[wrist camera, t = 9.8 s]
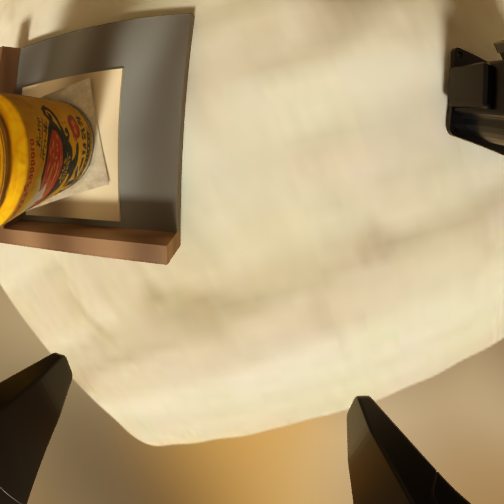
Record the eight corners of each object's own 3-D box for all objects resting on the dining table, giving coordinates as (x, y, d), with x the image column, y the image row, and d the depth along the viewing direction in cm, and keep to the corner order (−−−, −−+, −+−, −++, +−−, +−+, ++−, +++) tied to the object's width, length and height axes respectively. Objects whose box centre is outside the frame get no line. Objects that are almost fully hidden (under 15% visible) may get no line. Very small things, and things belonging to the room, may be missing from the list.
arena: (194, 17, 14) (181, 1, 12) (180, 245, 20) (167, 264, 18) (17, 52, 15) (-7, 50, 12) (19, 229, 21) (-3, 242, 18)
